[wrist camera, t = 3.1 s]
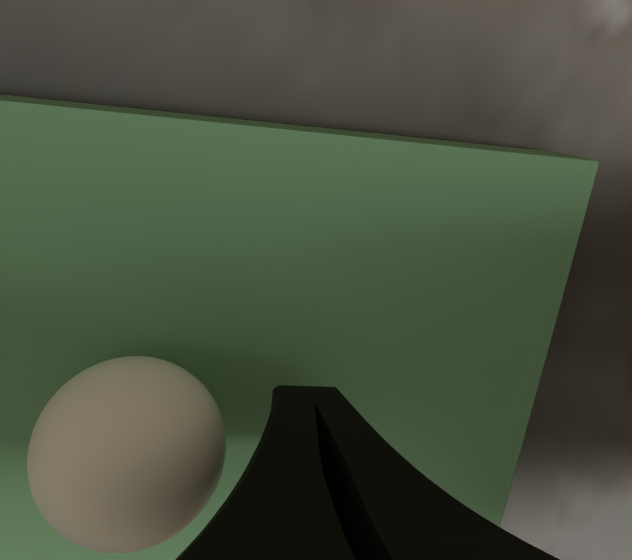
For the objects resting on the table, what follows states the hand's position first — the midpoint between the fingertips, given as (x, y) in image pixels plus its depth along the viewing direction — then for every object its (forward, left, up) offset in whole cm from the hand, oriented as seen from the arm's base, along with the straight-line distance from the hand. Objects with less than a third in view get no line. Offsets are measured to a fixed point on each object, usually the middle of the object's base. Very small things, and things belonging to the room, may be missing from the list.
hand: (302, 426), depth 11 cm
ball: (+2, -3, +1) cm, 3 cm away
